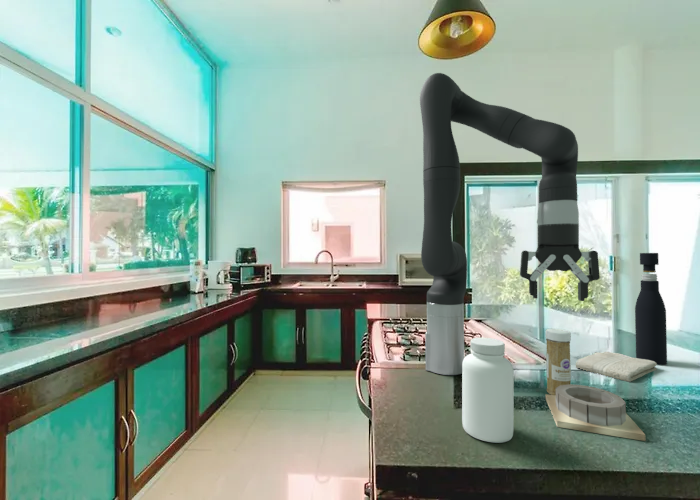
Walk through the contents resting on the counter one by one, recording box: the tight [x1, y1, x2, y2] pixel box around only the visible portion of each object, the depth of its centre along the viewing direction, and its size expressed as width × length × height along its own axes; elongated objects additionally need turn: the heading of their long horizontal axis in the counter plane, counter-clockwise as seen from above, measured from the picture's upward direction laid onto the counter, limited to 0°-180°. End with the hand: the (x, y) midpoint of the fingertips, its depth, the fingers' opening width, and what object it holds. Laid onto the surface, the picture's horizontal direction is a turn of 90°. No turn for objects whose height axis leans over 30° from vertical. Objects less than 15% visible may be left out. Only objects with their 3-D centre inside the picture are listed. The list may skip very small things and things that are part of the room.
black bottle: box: [634, 252, 668, 366], centre depth 93 cm, size 6×6×30 cm
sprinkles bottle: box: [545, 328, 572, 395], centre depth 71 cm, size 5×5×14 cm
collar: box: [545, 383, 646, 442], centre depth 61 cm, size 12×12×4 cm
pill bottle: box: [461, 337, 515, 444], centre depth 56 cm, size 8×8×15 cm
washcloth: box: [575, 351, 658, 383], centre depth 87 cm, size 12×18×3 cm, turn 122°
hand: (557, 299), depth 72 cm, fingers open, 8 cm apart
